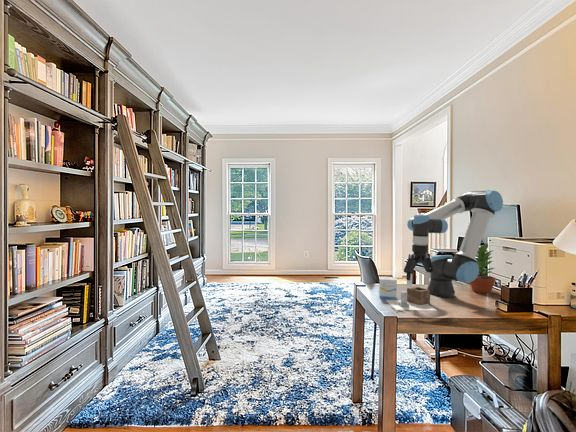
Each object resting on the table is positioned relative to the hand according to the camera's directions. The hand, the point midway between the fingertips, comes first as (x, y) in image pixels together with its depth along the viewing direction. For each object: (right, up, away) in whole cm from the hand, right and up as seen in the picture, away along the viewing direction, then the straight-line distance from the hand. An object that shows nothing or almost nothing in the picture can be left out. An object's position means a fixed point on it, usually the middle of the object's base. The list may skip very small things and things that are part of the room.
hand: (418, 285), depth 182 cm
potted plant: (+52, -11, +35) cm, 63 cm away
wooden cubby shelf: (0, -9, 0) cm, 9 cm away
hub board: (-6, -10, -5) cm, 12 cm away
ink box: (-13, -10, +10) cm, 19 cm away
